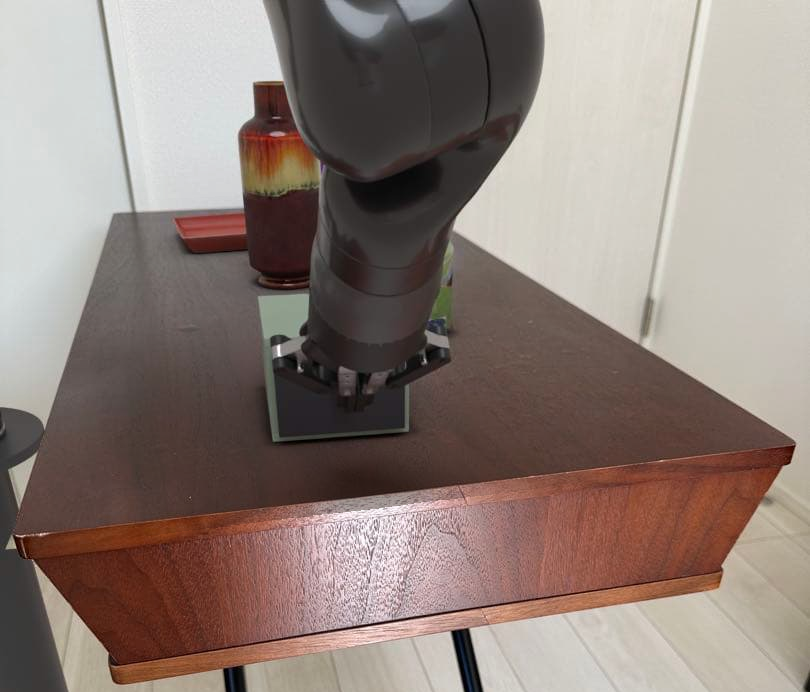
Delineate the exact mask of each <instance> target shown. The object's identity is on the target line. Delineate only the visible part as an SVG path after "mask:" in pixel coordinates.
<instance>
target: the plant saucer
mask: <svg viewBox="0 0 810 692" xmlns="http://www.w3.org/2000/svg"><path fill="white" fill-rule="evenodd" d="M172 221H173V223H174V226H175V227H176V229H177V231H178V233H179V235H180V237H181V239H182V240H183V242H184V243H185V244H186V246H188V248H189V249H190V250H191V251H192V252H193V253H195V254H206V253H207V254H208V253H217V252H218V253H219V252H230V251H243V250H248V245H247V235H246V225H245V214H244V212H235V213H220V214H219V213H218V214H205V215H192V216H191V215H190V216H178V217H173V218H172Z"/></svg>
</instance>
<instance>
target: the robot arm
mask: <svg viewBox="0 0 810 692" xmlns="http://www.w3.org/2000/svg"><path fill="white" fill-rule="evenodd" d="M261 1H262V4H263V7H264V11H265V13H266V16H267V19H268V22H269V27H270V30H271V34H272V38H273V42H274V45H275V51H276V55H277V59H278V63H279V68H280V71H281V77H282V81H284V85H285V90H286V94H287V98H288V102H289V105H290V108H291V112H292V115H293V118H294V121H295V124H296V126H297V129H298V131H299V133H300V135H301V137H302V139H303V141H304V142H305V144H306V145H307V147H308V148H309V150H310V151H311V152H312V153H313V155H314V156H316V157H317V158H318V159H319V160H320V161H321V162H322V163H323V164H324V166H323V170H322V174H321V179H320V186H319V208H318V225H317V232H316V235H315V238H314V242H313V247H312V252H311V266H310V285H309V287H308V288H309V289H308V294H309V307H308V320H307V321H306V322H305V323H304V324H303V325H302V326H301V328H300V331H299V335H300V336H299V337H296V338H294V339H291V338H289V337H287V336H285V335H280V334H279V335H274V336H272V337H271V338H270V346H271V359H272V366H273V373H274V374H276V375H278V376H280V377H282V378H285V379H287V380H289V381H291V382H293V383H295V384H297V385H299V386H301V387H303V388H305V389H308V390H310V391H312V392H314V393H316V394H319V395H324V394H328V393H330V392H331V389H334V390H335V398H336V405H337V406H338V408H340V407H344V410H345V413H351V412H363V411H364V407H365V406H369V405H371V404H372V403H373V399H374V395H375V393H377V392H378V389H379V387H381V386H385V385H386V387H387V389H389V390H396V389H400V388H402V387H404V386H406V385H407V384H409V385H410V384H412V383H414V382H415V381H418V380H419V379H421V378H423V377H425V376H427V375H429V374H430V373H432V372H435V371H437V370H438V369H441V368H442V367H444V366H446V365H449V364H450V363H451V362H452V356H451V355H452V354H451V350H450V349H451V347H450V341H449V336H448V335H449V334H448V329H446V327H445V326H435V327H433V328H431V329H429V330H426V327H427V324H428V321H429V318H430V315H431V312H432V309H433V306H434V302H435V300H436V299H437V297H438V296H439V292H440V287H441V279H442V275H443V265H444V256H445V253H446V250H447V247H448V244H449V241H450V242H451V237H452V234H453V230H454V228H455V225H456V221H457V217H458V215H460V213H461V212H463V209H464V208H465V207H466V206H467V205H468V203H469V202H471V201H472V199H473V198H474V197H475V196H476V194H478V192H479V190H480V189H481V188H482V186H483V185H484V184H485V182H486V180H487V179H488V178H489V177H490V175H491V174H492V172H493V171H494V170H495V168H496V167H497V165H498V164H499V162H501V160H502V158H503V157H504V156H505V154H506V152H507V151H509V149H510V147H511V145H512V144H513V143H514V141H515V140H516V138H517V136H518V135H519V133H520V131H521V129H522V127H523V125H524V124H525V121H526V120H527V117H528V116H529V113H530V112H531V110H532V107H533V104H534V101H535V99H536V96H537V93H538V90H539V86H540V83H541V80H542V79H541V77H542V74H543V67H544V58H545V46H546V45H545V44H546V33H545V22H544V14H543V10H542V5H541V1H540V0H261ZM404 362H406V369H405V370H404V371H402V372H401V369H400V365H401V364H403V363H404ZM1 416H2V415H1V411H0V440H1V439H2V438H3V437H4V436H5V434H6V427H5V424H4V421H3V420H2V417H1Z"/></svg>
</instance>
